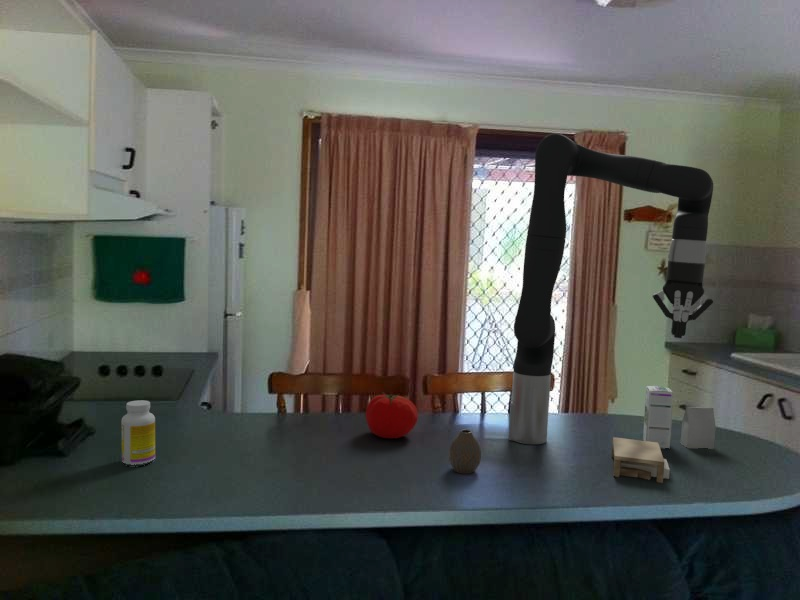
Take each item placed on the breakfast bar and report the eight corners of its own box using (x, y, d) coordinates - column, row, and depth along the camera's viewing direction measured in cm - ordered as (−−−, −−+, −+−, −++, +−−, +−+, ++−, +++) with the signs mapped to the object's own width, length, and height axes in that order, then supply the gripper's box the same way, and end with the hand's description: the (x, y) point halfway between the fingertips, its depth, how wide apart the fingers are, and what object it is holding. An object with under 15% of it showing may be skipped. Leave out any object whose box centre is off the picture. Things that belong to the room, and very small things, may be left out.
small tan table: (613, 476, 139) (614, 455, 139) (611, 456, 153) (612, 437, 152) (662, 483, 137) (664, 462, 136) (656, 461, 150) (658, 442, 150)
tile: (620, 474, 142) (620, 463, 142) (618, 463, 149) (619, 453, 149) (668, 480, 139) (669, 469, 139) (665, 469, 146) (666, 459, 146)
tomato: (354, 434, 162) (355, 393, 161) (387, 425, 171) (388, 385, 170) (394, 447, 153) (396, 403, 152) (426, 436, 162) (428, 395, 161)
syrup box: (670, 449, 160) (675, 391, 158) (645, 446, 161) (649, 389, 159) (665, 442, 165) (670, 386, 164) (641, 440, 166) (645, 384, 165)
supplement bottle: (162, 460, 139) (162, 401, 137) (137, 469, 133) (137, 408, 131) (139, 454, 141) (139, 397, 140) (114, 463, 135) (114, 404, 134)
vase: (459, 478, 135) (461, 437, 134) (442, 467, 141) (444, 428, 140) (486, 473, 138) (488, 434, 137) (468, 463, 144) (470, 425, 143)
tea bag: (713, 449, 161) (717, 410, 160) (686, 448, 161) (690, 409, 160) (706, 444, 165) (709, 406, 164) (680, 443, 165) (683, 405, 164)
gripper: (655, 258, 141) (647, 336, 143) (722, 263, 138) (712, 343, 140) (653, 258, 149) (645, 332, 151) (716, 262, 145) (707, 338, 147)
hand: (677, 337), depth 145 cm, fingers closed
